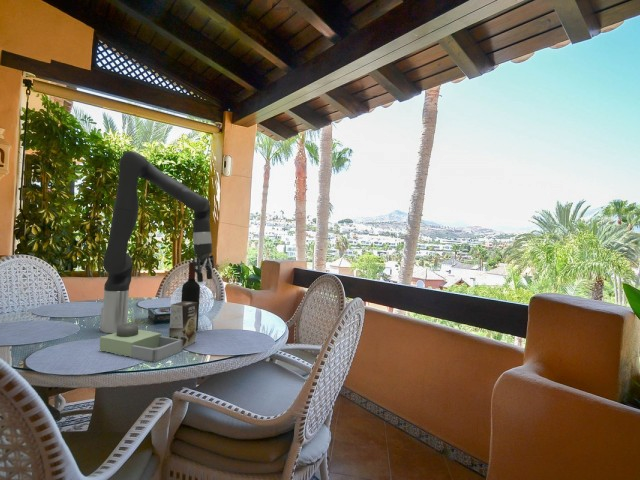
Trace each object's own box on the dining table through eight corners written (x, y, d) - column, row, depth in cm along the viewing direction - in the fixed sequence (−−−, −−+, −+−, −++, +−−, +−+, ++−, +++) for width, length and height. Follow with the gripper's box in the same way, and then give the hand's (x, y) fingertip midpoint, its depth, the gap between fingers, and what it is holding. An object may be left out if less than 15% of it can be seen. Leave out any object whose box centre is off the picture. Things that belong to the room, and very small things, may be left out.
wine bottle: (180, 333, 160) (184, 263, 160) (178, 328, 167) (182, 261, 166) (199, 332, 164) (202, 263, 163) (196, 327, 170) (199, 261, 170)
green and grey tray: (99, 351, 132) (100, 328, 132) (131, 341, 145) (132, 320, 145) (154, 362, 124) (155, 338, 124) (182, 350, 137) (183, 329, 137)
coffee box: (183, 348, 139) (185, 305, 139) (167, 346, 141) (170, 304, 141) (196, 342, 148) (198, 301, 148) (181, 340, 150) (183, 300, 150)
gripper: (202, 242, 168) (204, 278, 169) (185, 244, 154) (188, 283, 155) (218, 241, 167) (220, 278, 167) (202, 243, 153) (205, 282, 153)
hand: (205, 280), depth 161 cm, fingers open, 8 cm apart
